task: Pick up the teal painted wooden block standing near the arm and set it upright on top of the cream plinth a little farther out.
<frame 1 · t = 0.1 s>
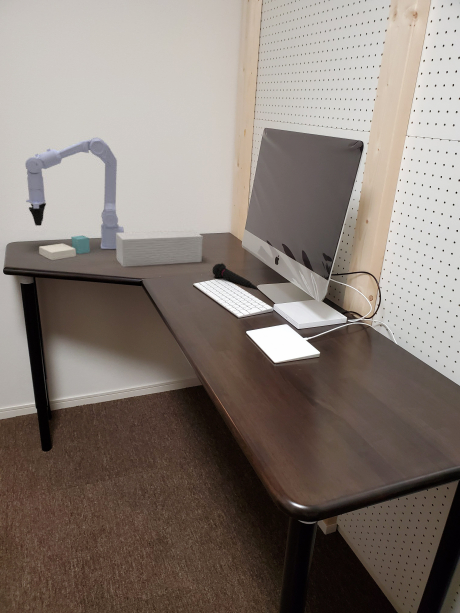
hand: (39, 223, 186), 10 cm above the table, tool pointing down, fingers open, 7 cm apart
stack of papers: (159, 261, 185), on the table
microphone: (232, 283, 166), on the table
cream plinth: (57, 255, 181), on the table
teal block: (80, 251, 188), on the table
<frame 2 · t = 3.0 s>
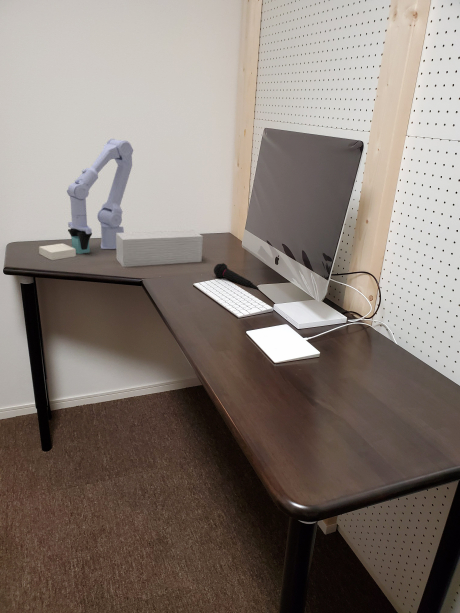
hand: (80, 247, 188), 2 cm above the table, tool pointing down, fingers closed on teal block, 5 cm apart
teal block: (80, 251, 188), on the table, touching gripper
everything else where it was.
when the fingers open (6 cm above the table, at t = 8.6 s): teal block drops 1 cm, resting on cream plinth.
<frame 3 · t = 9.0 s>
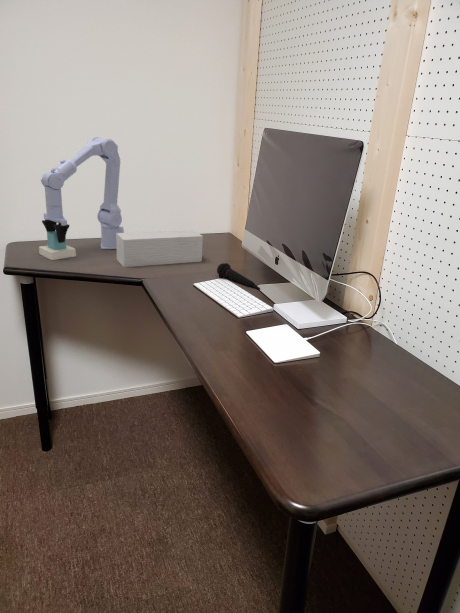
hand: (56, 240, 179), 6 cm above the table, tool pointing down, fingers open, 7 cm apart
teal block: (57, 247, 180), point 3 cm above the table, touching cream plinth
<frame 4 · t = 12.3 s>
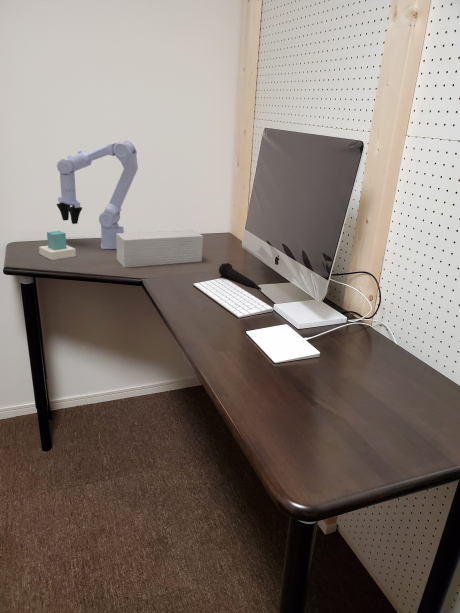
hand: (70, 221, 195), 9 cm above the table, tool pointing down, fingers open, 7 cm apart
at the end: teal block 0.0 cm off-centre on the cream plinth, point 3.0 cm above the cream plinth's base; teal block tilted 0°; the gripper is holding nothing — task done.
